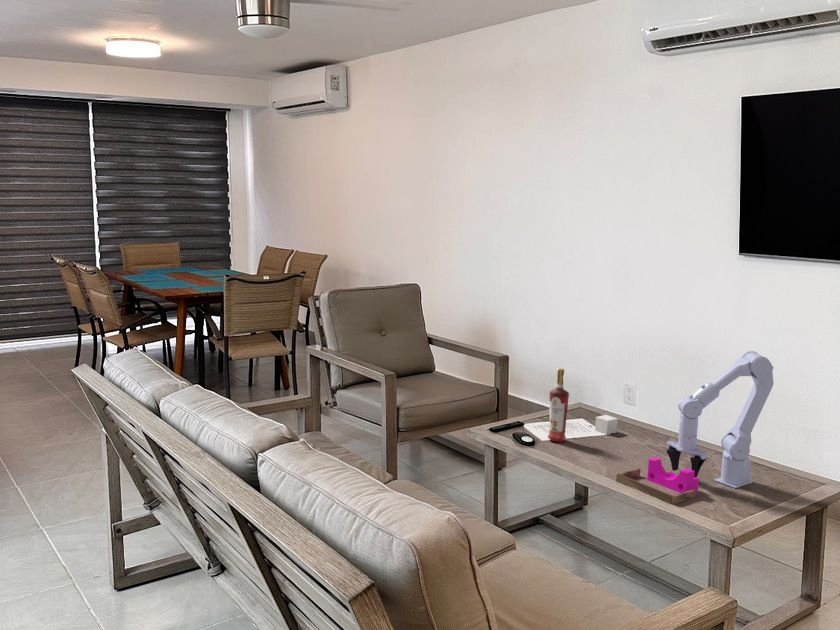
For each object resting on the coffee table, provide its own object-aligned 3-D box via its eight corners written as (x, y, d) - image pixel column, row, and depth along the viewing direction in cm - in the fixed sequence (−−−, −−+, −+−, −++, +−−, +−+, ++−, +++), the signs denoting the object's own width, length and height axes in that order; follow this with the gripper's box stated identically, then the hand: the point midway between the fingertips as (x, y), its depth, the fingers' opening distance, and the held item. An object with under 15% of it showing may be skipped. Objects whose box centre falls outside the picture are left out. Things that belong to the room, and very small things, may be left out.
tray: (638, 475, 259) (638, 468, 259) (695, 497, 241) (695, 490, 240) (616, 481, 253) (616, 473, 253) (672, 504, 235) (673, 497, 234)
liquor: (544, 441, 293) (547, 369, 288) (550, 436, 299) (554, 366, 294) (562, 444, 289) (566, 372, 285) (569, 439, 295) (572, 368, 291)
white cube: (616, 433, 306) (617, 418, 305) (606, 435, 302) (607, 420, 301) (604, 429, 310) (605, 414, 309) (594, 431, 307) (595, 416, 306)
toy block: (697, 491, 246) (699, 469, 245) (685, 495, 243) (687, 473, 242) (659, 477, 258) (660, 455, 257) (647, 480, 255) (648, 459, 254)
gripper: (661, 430, 256) (658, 468, 259) (698, 442, 245) (695, 482, 247) (675, 427, 260) (672, 465, 262) (712, 438, 248) (709, 478, 251)
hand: (684, 473), depth 255 cm, fingers open, 7 cm apart
